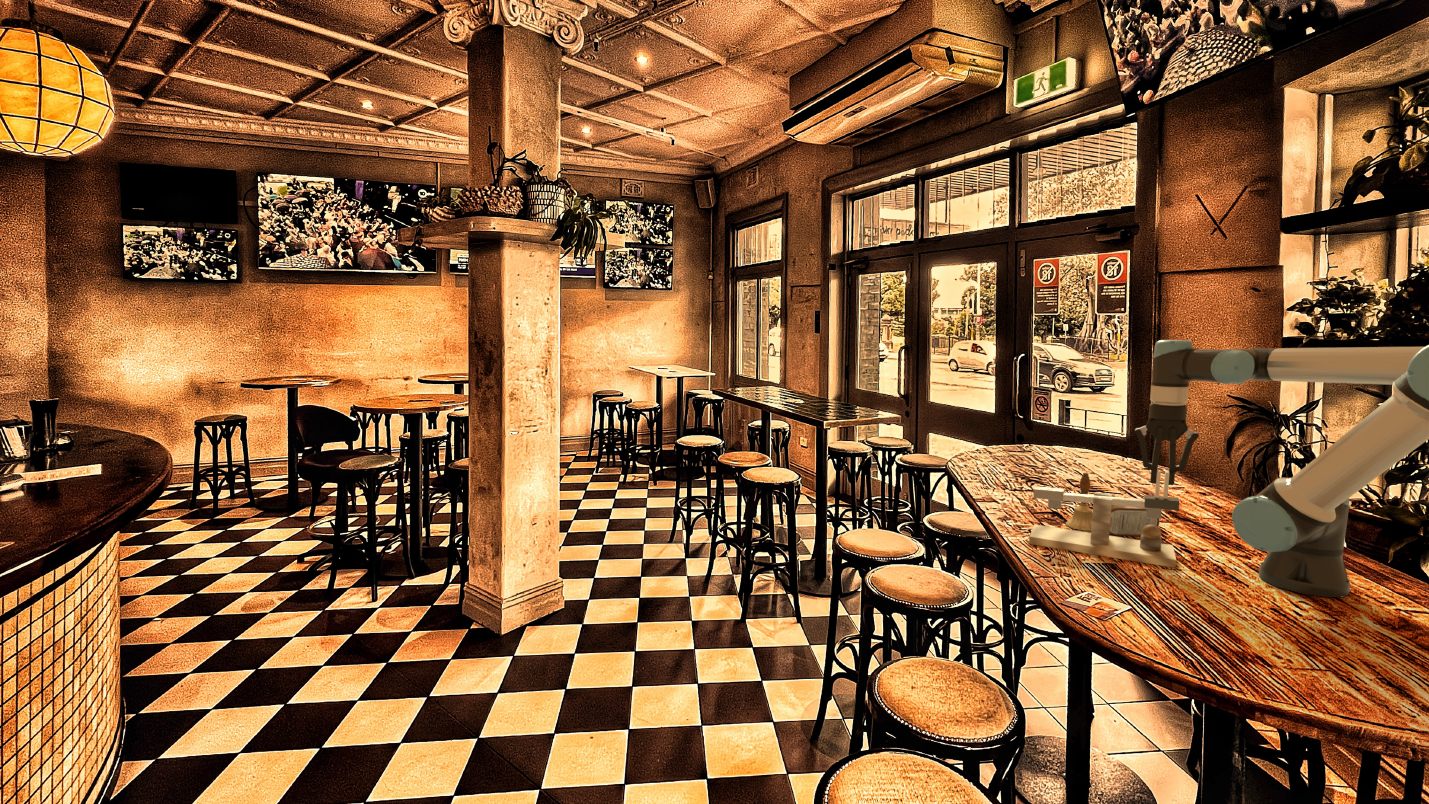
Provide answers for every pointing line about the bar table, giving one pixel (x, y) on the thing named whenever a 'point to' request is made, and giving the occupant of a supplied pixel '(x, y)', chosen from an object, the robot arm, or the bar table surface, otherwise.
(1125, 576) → the bar table surface
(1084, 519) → the hand bell
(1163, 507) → the lever
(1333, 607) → the bar table surface
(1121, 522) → the tin
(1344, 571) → the robot arm
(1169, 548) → the press base
